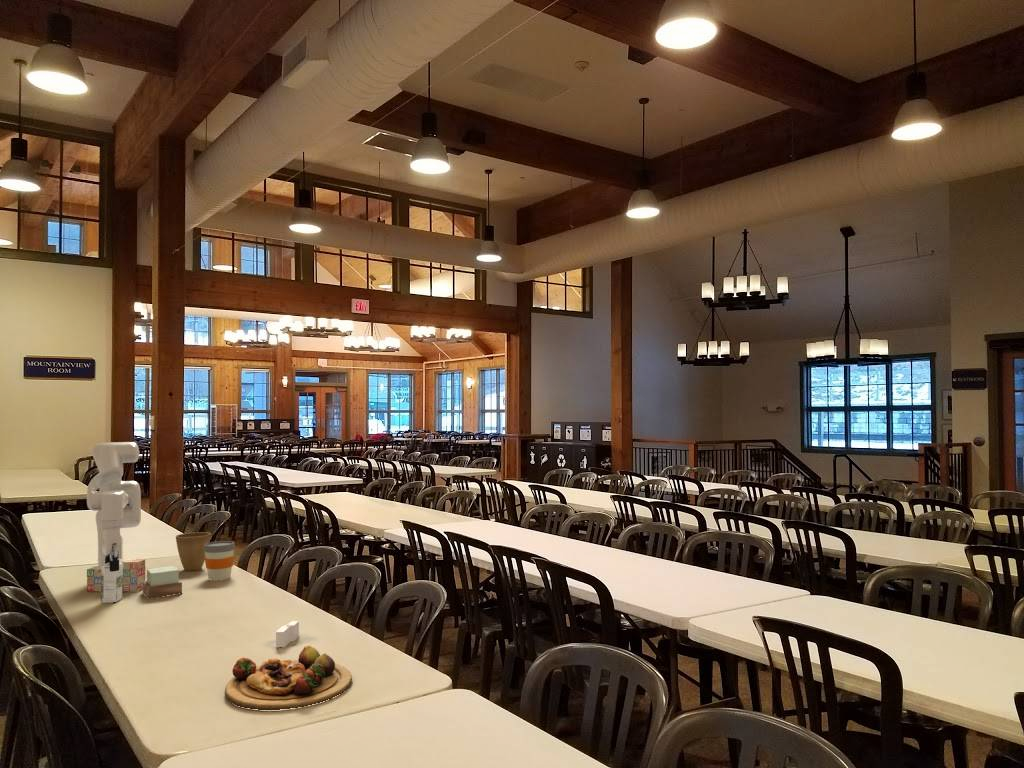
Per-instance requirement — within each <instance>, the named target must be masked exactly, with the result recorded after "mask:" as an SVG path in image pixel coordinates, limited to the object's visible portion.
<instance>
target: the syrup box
mask: <svg viewBox="0 0 1024 768" xmlns="http://www.w3.org/2000/svg"><path fill="white" fill-rule="evenodd" d="M123 593H124V592H123V563H122V562H119V571H112V572H110V563H107V564H105V565H103V566H102V571H101V592H100V604H113V602H116V603H118V602H119V601H121V600H122V599H123Z"/></svg>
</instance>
